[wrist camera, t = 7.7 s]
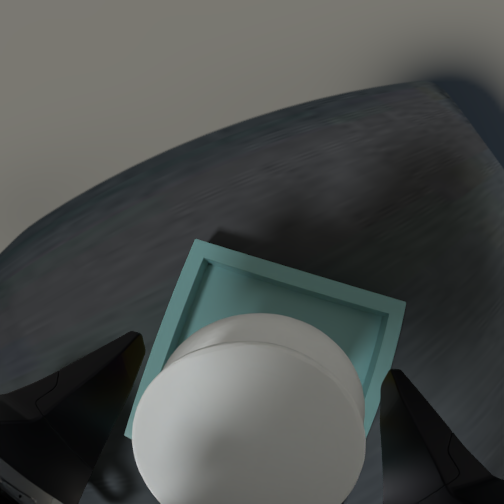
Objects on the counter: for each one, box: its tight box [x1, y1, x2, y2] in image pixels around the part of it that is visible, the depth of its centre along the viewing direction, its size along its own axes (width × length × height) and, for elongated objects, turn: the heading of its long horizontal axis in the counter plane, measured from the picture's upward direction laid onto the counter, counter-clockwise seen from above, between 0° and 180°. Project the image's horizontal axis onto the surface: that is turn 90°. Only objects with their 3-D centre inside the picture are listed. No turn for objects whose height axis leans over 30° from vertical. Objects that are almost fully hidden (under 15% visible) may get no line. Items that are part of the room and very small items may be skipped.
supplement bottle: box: [132, 313, 366, 504], centre depth 10 cm, size 7×7×13 cm
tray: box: [124, 239, 406, 439], centre depth 16 cm, size 14×14×2 cm
